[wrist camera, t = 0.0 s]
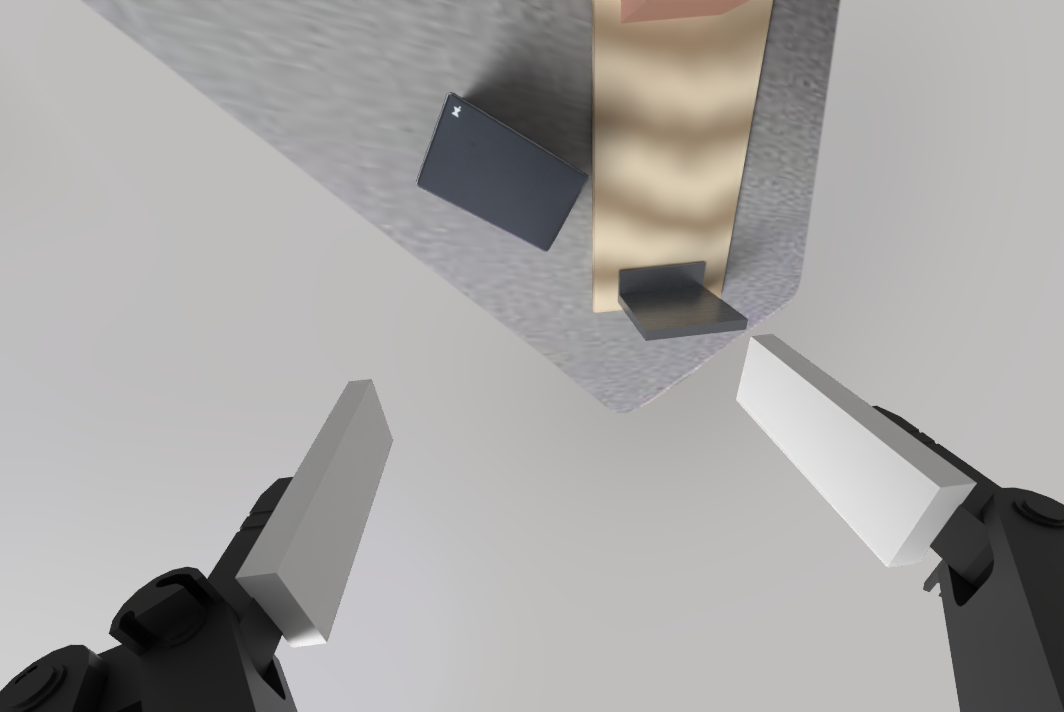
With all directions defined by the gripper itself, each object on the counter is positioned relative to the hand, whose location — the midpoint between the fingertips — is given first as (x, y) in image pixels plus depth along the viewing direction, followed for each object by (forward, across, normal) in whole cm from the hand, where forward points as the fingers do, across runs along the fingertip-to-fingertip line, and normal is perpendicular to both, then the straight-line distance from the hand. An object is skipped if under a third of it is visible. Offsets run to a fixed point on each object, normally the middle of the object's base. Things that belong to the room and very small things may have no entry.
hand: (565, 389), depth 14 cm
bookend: (+27, +14, -7) cm, 31 cm away
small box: (+28, -1, +5) cm, 29 cm away
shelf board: (+28, +14, +7) cm, 32 cm away
